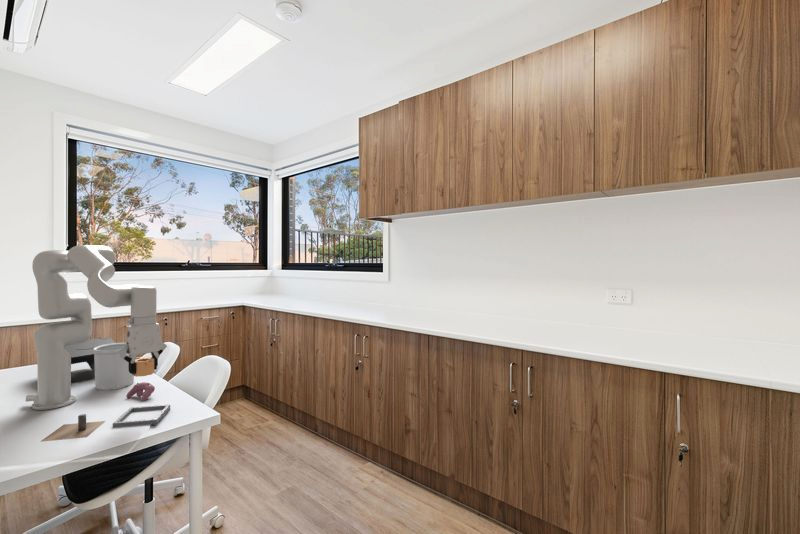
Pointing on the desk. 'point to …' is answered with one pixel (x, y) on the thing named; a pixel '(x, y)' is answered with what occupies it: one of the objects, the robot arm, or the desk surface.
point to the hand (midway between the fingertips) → (143, 370)
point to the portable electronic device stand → (85, 357)
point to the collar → (144, 367)
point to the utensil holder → (111, 367)
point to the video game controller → (141, 390)
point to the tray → (140, 422)
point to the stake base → (74, 430)
